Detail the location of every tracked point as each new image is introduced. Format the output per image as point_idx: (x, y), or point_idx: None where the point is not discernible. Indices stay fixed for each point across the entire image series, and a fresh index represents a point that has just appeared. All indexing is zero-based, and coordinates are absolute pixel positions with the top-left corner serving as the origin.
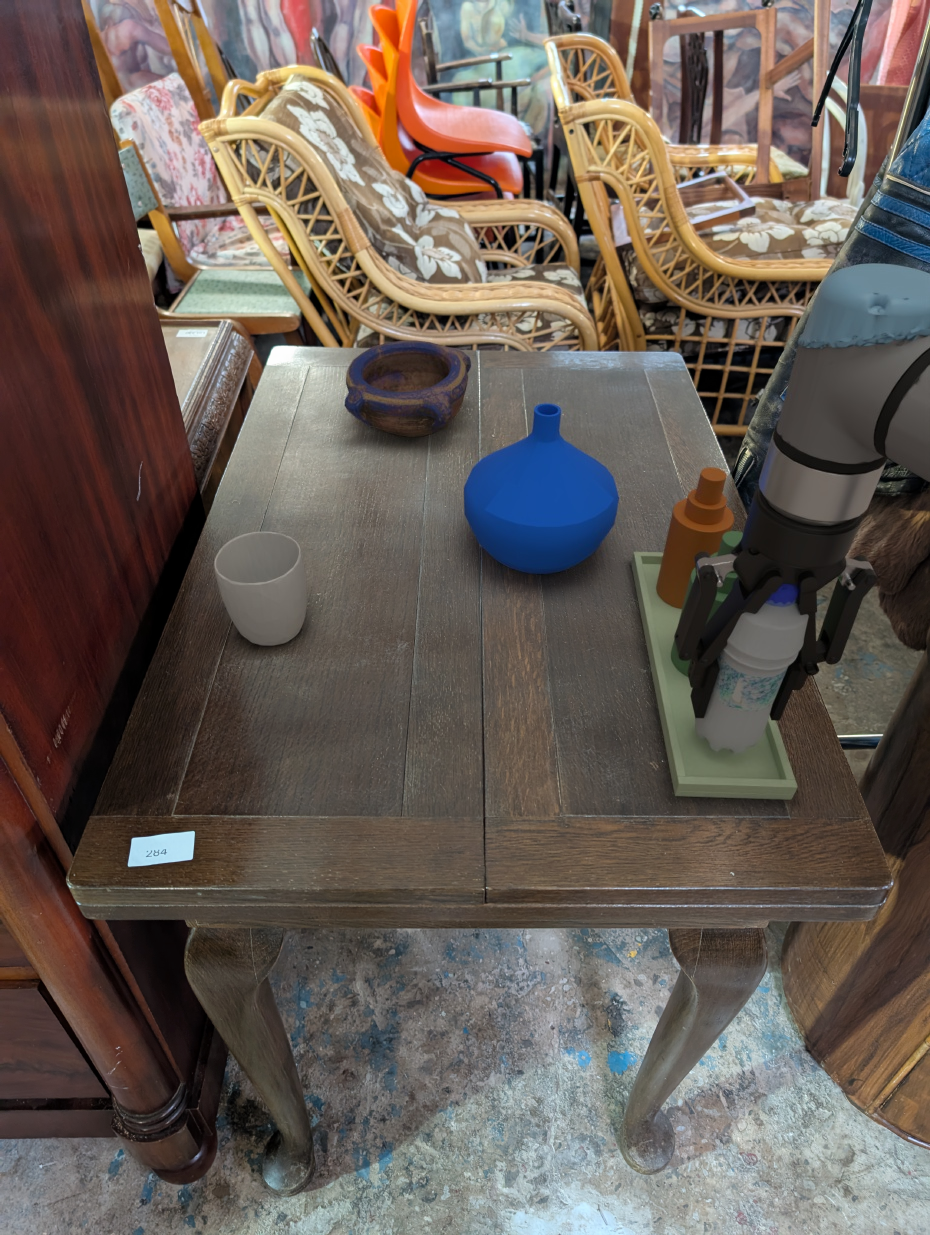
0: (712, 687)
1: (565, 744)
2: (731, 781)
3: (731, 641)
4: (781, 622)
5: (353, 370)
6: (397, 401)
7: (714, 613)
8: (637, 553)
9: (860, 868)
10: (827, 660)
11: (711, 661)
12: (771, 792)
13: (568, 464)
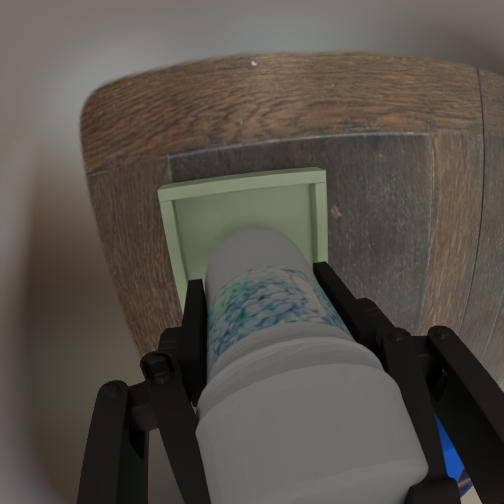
0: (342, 300)
1: (422, 228)
2: (252, 183)
3: (399, 391)
4: (336, 500)
5: (471, 486)
6: (459, 484)
7: None
8: None
9: (94, 102)
10: (124, 389)
11: (386, 340)
12: (191, 182)
13: None
